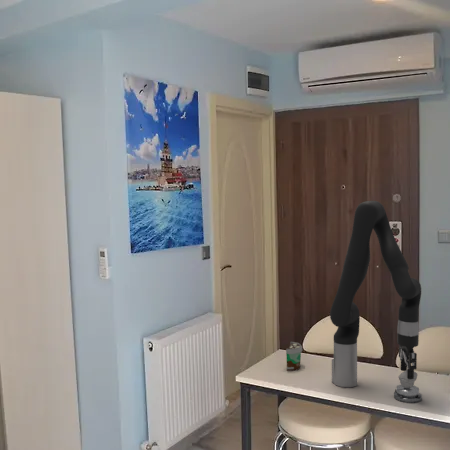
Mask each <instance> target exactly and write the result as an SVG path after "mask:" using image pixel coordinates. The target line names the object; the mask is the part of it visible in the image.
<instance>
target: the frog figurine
mask: <svg viewBox="0 0 450 450" xmlns="http://www.w3.org/2000/svg"><path fill="white" fill-rule="evenodd" d="M417 378H418V372H417V371H414V379H408V378H407V370H406V371H402V372H401V373H400V374H399V375H398V380H399V383H400V385H402V386H403V387H404V388H407V389H408V388H411V387H412V386H415V385H414V384H415V381H416V380H417Z"/></svg>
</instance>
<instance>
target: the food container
mask: <svg viewBox="0 0 450 450" xmlns="http://www.w3.org/2000/svg"><path fill="white" fill-rule="evenodd" d="M285 349H286V351H285V352H286V353H285V356H286V371H287V372H291V371H293V372H294V371H297V370H298V371H299V370H300V369H301V358H302V352H303V346H302V345H301V343H299V342H295V341H290V343H289V346H288V348H285Z"/></svg>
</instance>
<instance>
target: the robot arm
mask: <svg viewBox="0 0 450 450" xmlns="http://www.w3.org/2000/svg"><path fill="white" fill-rule="evenodd" d="M373 231H374V233H375V235H376V237H377V241H378V243H379V248H380V252H381V257H382V258H383V261H384V264H385V265H386V267H387V269H388V271H389V273H390V275H391V279H392V283H393V285H394V289H395V291H396V293H397V294H398V296H399V297H400V298H401V303H400V305H399V307H398V321H397V334H396V335H397V337H396V338H397V339H396V343H397V345H398V358H399V361H400V370H401V372H404V371H406V370H407V378H408V379H414V372H415V370H417V364H418V363H417V362H418V361H417V360H418V359H417V358H418V357H417V352H415V350H414V349H415V348H416V347H418V346H419V341H420V339H419V338H420V337H419V335H420V325H419V317H420V316H419V310H420V308H419V307H420V303H421V297H422V286H421V285H422V284H421V283H420V281H419V280H418V279H417V278H414V277H411V275H410V273H409V269H410V268H409V264H408V262H407V260H406V258H405V256H404V254H403V252H402V251H401V249H400V246H399V244H398V243H397V240H396V238H395V236H394V233H393V230H392V227H391V225H390V221H389V218H388V215H387V212H386V210H385V207H384V206H383V204H382V203H381V202H379V201H377V200H369V201H368V200H367V201H363V202H361V203H359V204H358V205H357V206H356V209H355V211H354V216H353V225H352V232H351V235H350V236H351V237H350V240H349V243H348V248H347V251H346V255H345V258H344V259H345V260H344V263H343V267H342V272H341V276H340V279H339V283H338V287H337V291H336V294H335V297H334V299H333V302H332V303H331V304H332V305H331V308H330V311H329V317H330V322H331V323H332V324H333V325H334V326H335V327H337V330H336V331H335V332H334V334H333V358H332V359H331V383H333V384H334V385H335V386H337V387H340V388H354V387H356V386H358V337H359V334H360V310H359V307H358V305H357V304H356V303H355V302H354V298H355V296H356V293H358V291H359V289H360V287H361V285H362V284H363V282H364V280H365V278H366V276H367V273H368V270H369V266H370V263H371V262H370V261H371V248H370V241H371V237H372V232H373Z"/></svg>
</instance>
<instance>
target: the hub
mask: <svg viewBox="0 0 450 450" xmlns="http://www.w3.org/2000/svg"><path fill="white" fill-rule="evenodd" d="M393 398H394V399H395V400H396V401H398V402H401V403H407V404H415V403H420V402H421V401H423V395H422V394H421V393H420V388H419V387H418V386H416V385H413V386H412V387H411V388H408V389H407V388H404V387H403V386H402V385H401V384H398V385H396V388H395V390H394V392H393Z"/></svg>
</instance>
